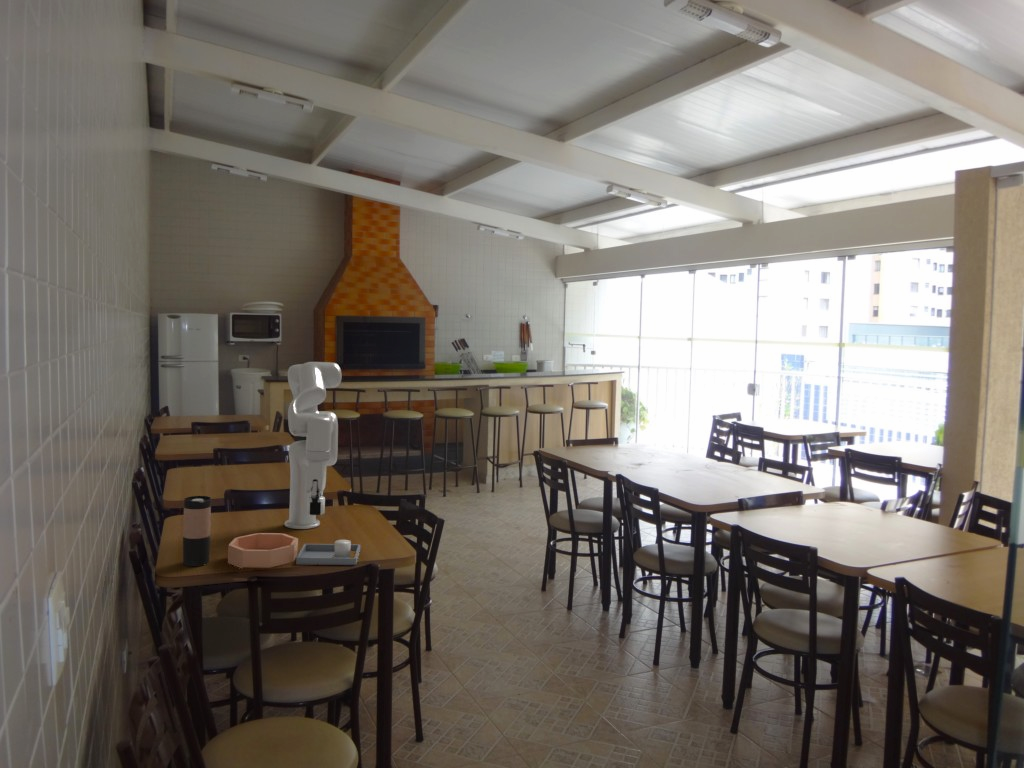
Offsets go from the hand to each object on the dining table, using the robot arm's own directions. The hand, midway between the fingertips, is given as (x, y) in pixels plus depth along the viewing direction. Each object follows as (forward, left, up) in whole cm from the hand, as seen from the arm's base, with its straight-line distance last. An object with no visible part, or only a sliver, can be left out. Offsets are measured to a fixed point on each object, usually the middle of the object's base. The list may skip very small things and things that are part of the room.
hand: (316, 511), depth 227 cm
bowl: (+1, -15, -15) cm, 22 cm away
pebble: (0, +9, -15) cm, 17 cm away
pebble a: (0, 0, 0) cm, 0 cm away
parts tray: (0, +5, -15) cm, 16 cm away
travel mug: (+5, -34, -16) cm, 38 cm away
